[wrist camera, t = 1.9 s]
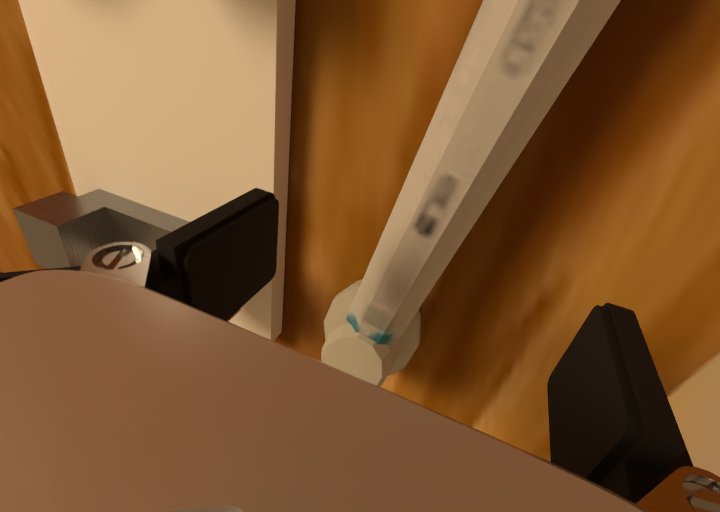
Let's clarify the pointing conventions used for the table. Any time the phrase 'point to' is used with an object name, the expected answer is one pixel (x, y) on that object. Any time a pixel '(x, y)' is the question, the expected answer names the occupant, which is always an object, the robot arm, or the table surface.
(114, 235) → the v blocks
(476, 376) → the table surface
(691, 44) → the table surface
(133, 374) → the robot arm
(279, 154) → the stand board
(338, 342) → the white handheld device
